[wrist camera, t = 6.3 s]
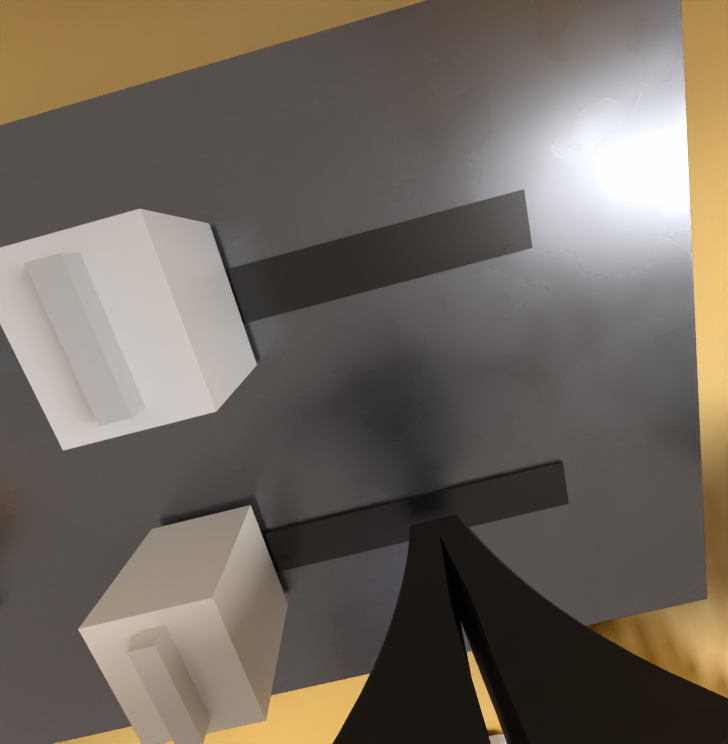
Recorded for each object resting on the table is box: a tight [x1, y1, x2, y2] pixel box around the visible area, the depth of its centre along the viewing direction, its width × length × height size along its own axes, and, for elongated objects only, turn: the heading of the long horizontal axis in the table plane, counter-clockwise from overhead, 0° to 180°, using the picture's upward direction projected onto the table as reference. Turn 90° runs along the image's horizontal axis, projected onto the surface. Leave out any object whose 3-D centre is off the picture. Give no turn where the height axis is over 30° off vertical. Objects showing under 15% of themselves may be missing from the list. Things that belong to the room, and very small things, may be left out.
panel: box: [0, 0, 707, 744], centre depth 12 cm, size 18×30×2 cm, turn 104°
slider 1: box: [0, 209, 257, 450], centre depth 9 cm, size 4×3×4 cm
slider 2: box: [78, 505, 288, 744], centre depth 11 cm, size 4×3×4 cm
